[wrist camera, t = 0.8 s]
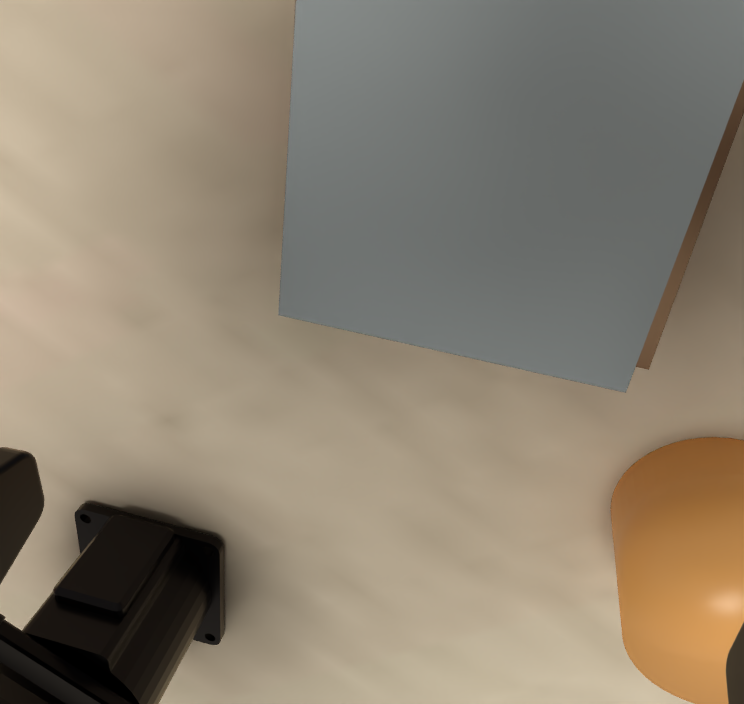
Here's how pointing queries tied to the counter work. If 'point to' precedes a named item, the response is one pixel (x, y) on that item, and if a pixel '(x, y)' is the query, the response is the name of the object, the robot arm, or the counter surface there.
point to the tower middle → (501, 171)
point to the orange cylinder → (682, 564)
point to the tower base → (690, 234)
